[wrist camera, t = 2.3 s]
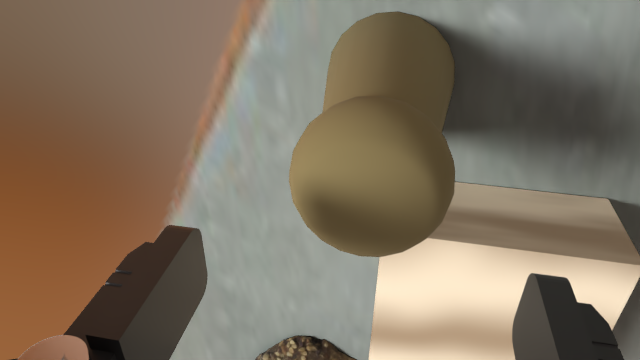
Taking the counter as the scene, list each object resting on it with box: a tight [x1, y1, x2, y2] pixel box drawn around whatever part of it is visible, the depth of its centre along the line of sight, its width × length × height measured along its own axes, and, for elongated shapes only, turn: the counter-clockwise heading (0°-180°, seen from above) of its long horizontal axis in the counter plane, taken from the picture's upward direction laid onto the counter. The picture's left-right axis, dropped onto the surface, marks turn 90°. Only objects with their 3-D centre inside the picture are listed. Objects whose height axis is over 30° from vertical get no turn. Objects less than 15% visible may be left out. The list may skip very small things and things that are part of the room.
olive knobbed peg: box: [289, 12, 455, 257], centre depth 18 cm, size 6×6×11 cm
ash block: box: [369, 182, 640, 360], centre depth 26 cm, size 11×11×5 cm
